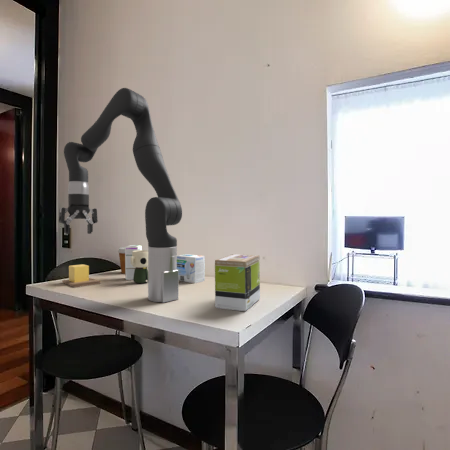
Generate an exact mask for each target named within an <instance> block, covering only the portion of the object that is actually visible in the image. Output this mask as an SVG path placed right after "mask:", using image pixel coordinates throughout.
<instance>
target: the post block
mask: <svg viewBox="0 0 450 450" xmlns="http://www.w3.org/2000/svg"><path fill="white" fill-rule="evenodd" d="M62 282H63V283H62V284H64V283H66V284H65V285H67V284H68V285H67V286H69V285H70V287H72V286H73V287H72V288H74V287H75V288H80V286H81V287H86V286H93V285H94V286H95V285H99V284H101V281H100V280H98V279H94V278H91V277H89V281H82V282H75V283H74V282H71V281H69V279H63V280H62Z"/></svg>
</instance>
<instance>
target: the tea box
mask: <svg viewBox="0 0 450 450" xmlns="http://www.w3.org/2000/svg"><path fill="white" fill-rule="evenodd" d="M260 263H261V262H260V255H255V254H236V253H235V254H230V255H226V256H223V257H220V258H217V259H214V305H215V308H216V309H221V310H222V309H223V310H230V311H232V310H233V311H237V312H239V311H240V312H247V310H248V309H250V308H251V307H252V306H254V305H255V303H257V302H258V301H259V300H260V299H261V287H260V286H261V282H260V281H261V277H260V276H261V275H260V273H261V272H260V266H261V265H260Z"/></svg>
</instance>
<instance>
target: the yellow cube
mask: <svg viewBox="0 0 450 450" xmlns="http://www.w3.org/2000/svg"><path fill="white" fill-rule="evenodd" d="M89 278H90V265H87V264H82V263H81V264H73V265H69V266H68V280H69V281H71V282H74V283H75V282H82V281H89Z"/></svg>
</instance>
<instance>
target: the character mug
mask: <svg viewBox="0 0 450 450" xmlns="http://www.w3.org/2000/svg"><path fill="white" fill-rule="evenodd" d="M131 265H132V266H133V267H136V268H135V271H134V279H133V280H132V281H133V282H135V283H137V284H142V283H146V282H147V283H148V250H147V249H146V250H145V249H142V250H136V251H132V257H131Z"/></svg>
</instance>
